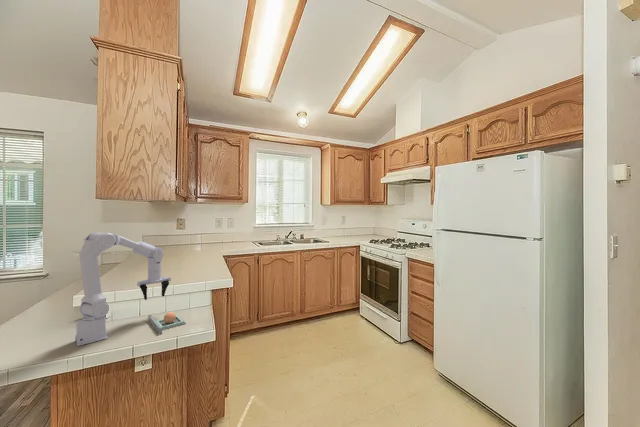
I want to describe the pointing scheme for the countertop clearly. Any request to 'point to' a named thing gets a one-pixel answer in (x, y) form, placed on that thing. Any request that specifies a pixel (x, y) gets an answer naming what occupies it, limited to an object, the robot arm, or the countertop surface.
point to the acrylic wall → (155, 324)
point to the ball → (169, 317)
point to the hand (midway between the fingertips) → (154, 297)
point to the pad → (177, 322)
